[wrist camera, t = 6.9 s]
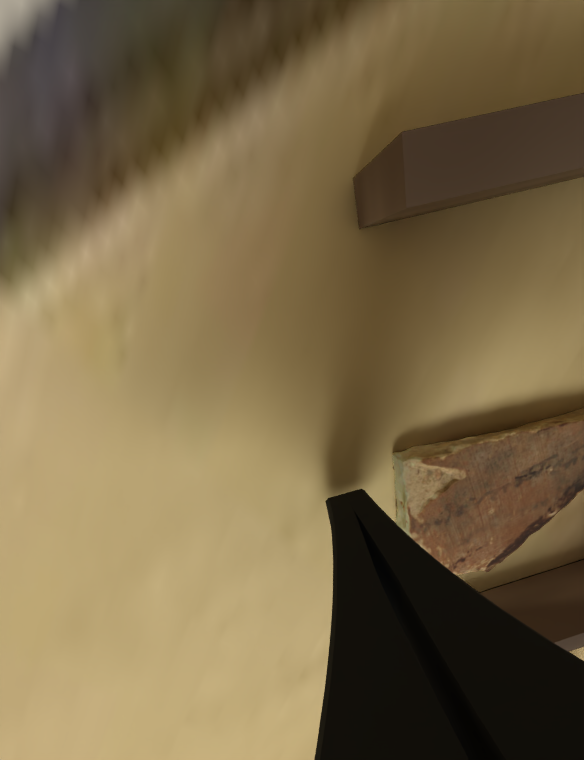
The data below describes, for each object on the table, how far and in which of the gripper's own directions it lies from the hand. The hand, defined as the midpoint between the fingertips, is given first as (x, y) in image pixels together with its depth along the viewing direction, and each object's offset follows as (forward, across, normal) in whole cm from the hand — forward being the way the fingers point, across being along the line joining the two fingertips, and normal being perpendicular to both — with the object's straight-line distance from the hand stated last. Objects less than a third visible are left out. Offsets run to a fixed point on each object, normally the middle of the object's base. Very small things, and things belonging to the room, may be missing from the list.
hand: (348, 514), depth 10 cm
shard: (+2, -6, +1) cm, 7 cm away
